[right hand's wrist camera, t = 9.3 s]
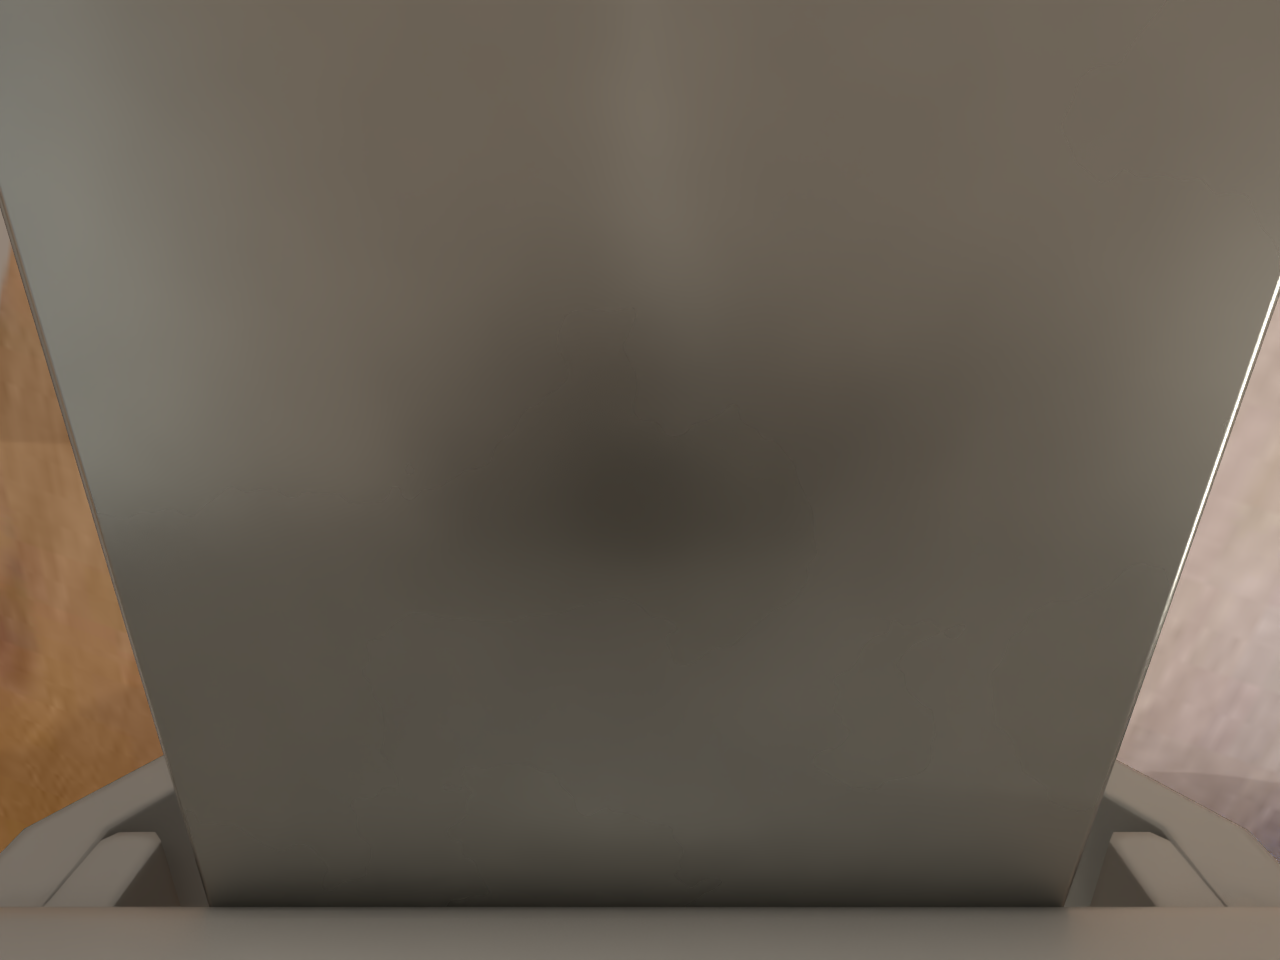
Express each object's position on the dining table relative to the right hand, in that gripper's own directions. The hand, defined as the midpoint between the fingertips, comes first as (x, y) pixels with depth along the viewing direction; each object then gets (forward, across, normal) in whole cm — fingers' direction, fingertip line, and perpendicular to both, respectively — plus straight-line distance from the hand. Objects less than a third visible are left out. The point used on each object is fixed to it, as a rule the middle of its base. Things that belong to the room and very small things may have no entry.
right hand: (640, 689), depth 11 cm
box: (+6, 0, +9) cm, 11 cm away
